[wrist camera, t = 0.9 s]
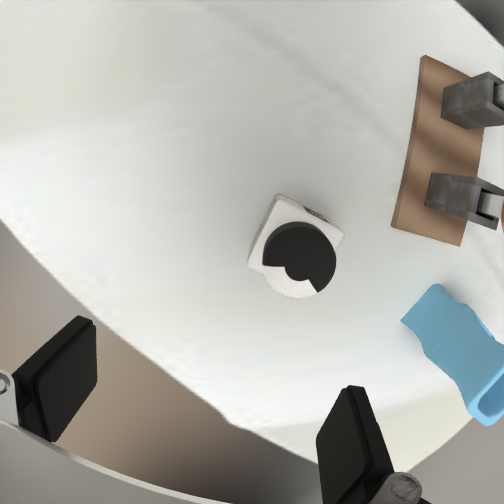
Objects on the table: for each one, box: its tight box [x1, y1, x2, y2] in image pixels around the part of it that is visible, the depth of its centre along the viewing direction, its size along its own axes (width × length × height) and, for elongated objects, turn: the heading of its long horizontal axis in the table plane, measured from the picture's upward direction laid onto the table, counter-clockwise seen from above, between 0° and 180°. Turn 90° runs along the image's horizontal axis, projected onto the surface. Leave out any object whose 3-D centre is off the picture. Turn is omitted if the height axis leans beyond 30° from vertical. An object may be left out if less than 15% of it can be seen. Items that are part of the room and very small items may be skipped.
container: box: [246, 194, 344, 298], centre depth 33 cm, size 8×8×13 cm
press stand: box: [391, 55, 504, 247], centre depth 29 cm, size 24×11×12 cm, turn 169°
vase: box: [401, 284, 504, 426], centre depth 32 cm, size 8×8×20 cm
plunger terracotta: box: [476, 192, 504, 232], centre depth 24 cm, size 6×6×12 cm
